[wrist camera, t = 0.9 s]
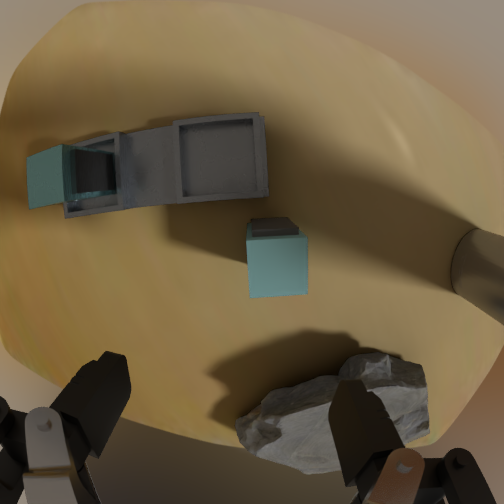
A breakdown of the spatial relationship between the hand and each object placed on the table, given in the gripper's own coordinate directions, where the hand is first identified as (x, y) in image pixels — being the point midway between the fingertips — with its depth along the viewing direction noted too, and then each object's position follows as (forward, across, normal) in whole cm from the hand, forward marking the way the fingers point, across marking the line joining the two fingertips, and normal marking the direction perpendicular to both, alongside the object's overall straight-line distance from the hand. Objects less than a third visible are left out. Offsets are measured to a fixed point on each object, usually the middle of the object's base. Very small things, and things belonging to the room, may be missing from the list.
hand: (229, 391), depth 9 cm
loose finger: (+18, -2, -2) cm, 18 cm away
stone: (+19, -15, +20) cm, 31 cm away
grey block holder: (+18, +9, -8) cm, 21 cm away
